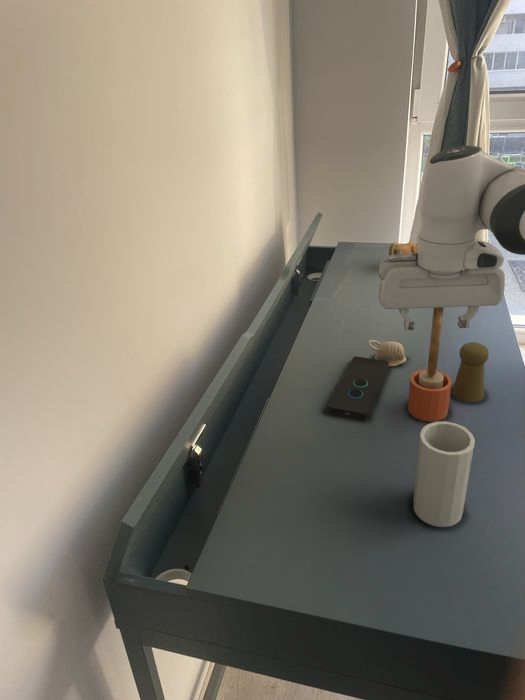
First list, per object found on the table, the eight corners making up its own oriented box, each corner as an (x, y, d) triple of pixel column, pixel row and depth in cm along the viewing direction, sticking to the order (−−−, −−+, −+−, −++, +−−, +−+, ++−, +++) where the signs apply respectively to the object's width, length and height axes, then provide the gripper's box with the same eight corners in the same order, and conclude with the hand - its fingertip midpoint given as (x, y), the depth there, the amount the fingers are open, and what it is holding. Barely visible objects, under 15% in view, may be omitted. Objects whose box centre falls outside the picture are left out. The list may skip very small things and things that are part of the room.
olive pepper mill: (474, 383, 108) (481, 336, 103) (490, 399, 103) (498, 351, 98) (446, 387, 108) (452, 340, 102) (461, 404, 103) (468, 356, 97)
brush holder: (442, 398, 105) (446, 368, 101) (452, 421, 98) (456, 390, 95) (404, 399, 105) (407, 369, 102) (412, 422, 99) (414, 391, 96)
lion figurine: (398, 274, 160) (399, 246, 156) (383, 270, 164) (384, 242, 159) (423, 260, 169) (425, 232, 165) (408, 256, 173) (410, 229, 168)
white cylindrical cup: (455, 491, 83) (466, 420, 76) (468, 527, 77) (481, 454, 70) (409, 491, 84) (415, 422, 77) (418, 527, 78) (426, 455, 71)
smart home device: (325, 405, 103) (353, 355, 118) (325, 412, 103) (353, 361, 119) (367, 413, 99) (390, 360, 115) (367, 421, 100) (389, 367, 116)
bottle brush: (437, 399, 103) (448, 297, 92) (442, 413, 99) (455, 307, 88) (414, 400, 104) (423, 298, 93) (418, 413, 100) (428, 309, 89)
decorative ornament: (405, 367, 115) (407, 346, 113) (367, 364, 117) (367, 344, 115) (406, 358, 119) (408, 337, 116) (368, 355, 121) (369, 335, 118)
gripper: (382, 262, 84) (378, 338, 91) (514, 256, 83) (500, 334, 90) (377, 249, 90) (373, 321, 96) (501, 243, 88) (488, 317, 95)
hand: (435, 327), depth 93 cm, fingers open, 8 cm apart
